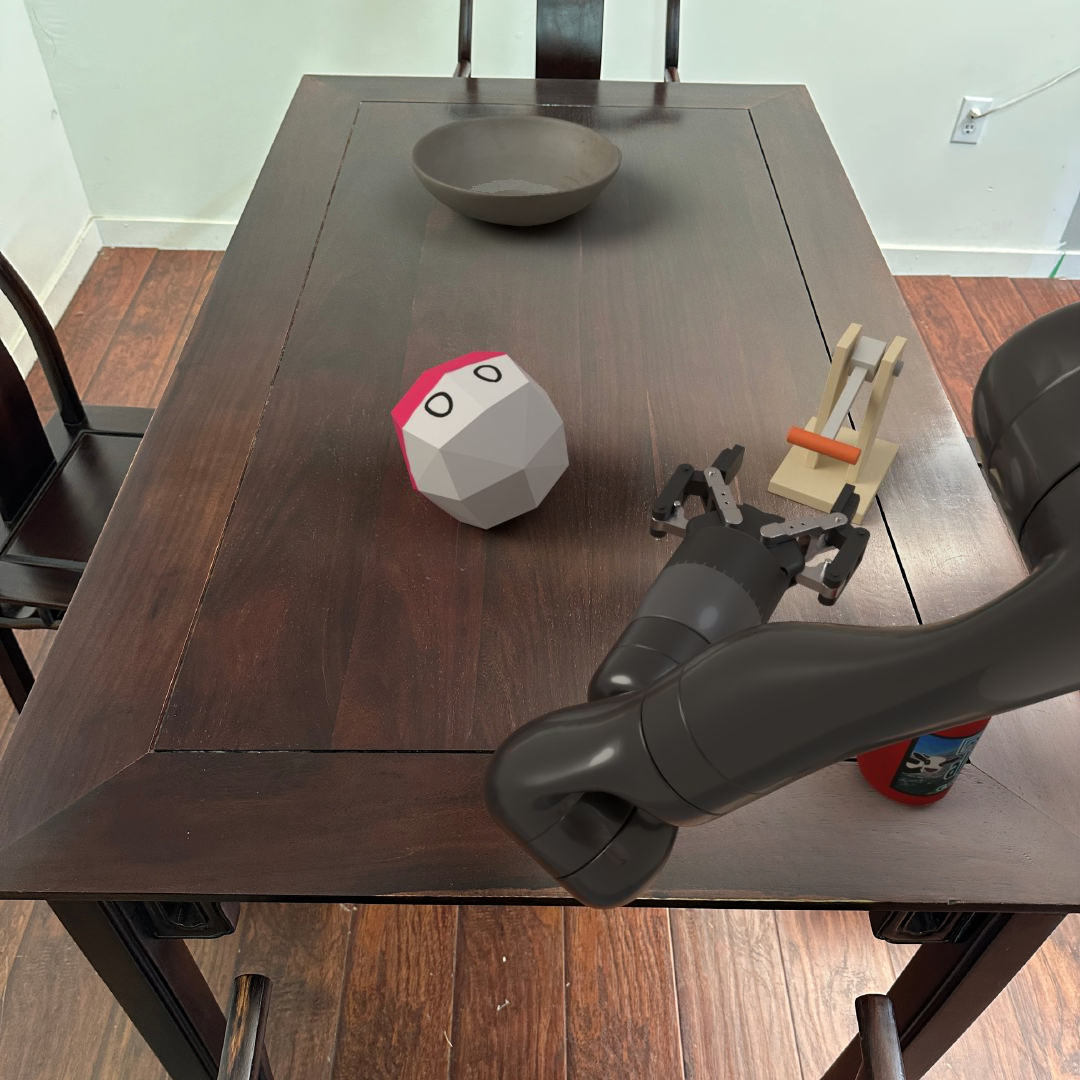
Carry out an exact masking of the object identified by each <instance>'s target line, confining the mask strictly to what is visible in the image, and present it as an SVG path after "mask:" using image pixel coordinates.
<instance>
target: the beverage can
mask: <svg viewBox="0 0 1080 1080" xmlns="http://www.w3.org/2000/svg"><path fill="white" fill-rule="evenodd" d="M992 717H993V716H992ZM992 717H988V718H985V719H981V720H978V721H974V722H971V723H967V724H963V725H960V726H956V727H953V728H949V729H945V730H942V731H938V732H934V733H931V734H927V735H924V736H920V737H917V738H913V739H909V740H906V741H902V742H899V743H895V744H892V745H888V746H885V747H882V748H879V749H876V750H873V751H870V752H866V753H863V754H860V755H858V756H856V762H857V766H858V768H859V771H860V774H861V775H862V777H863V778H864V780H865V781H866V782H867V783H868V784H869V785H870V786H871V787H872V789H873V790H875V792H877V793H879V794H880V795H882V796H883V797H885V798H886V799H888V800H891V801H892V802H895V803H898V804H902V805H905V806H910V807H911V806H912V807H922V806H928V805H931V804H934V803H937V802H939V801H941V799H943V798H945V796H946V795H947V794H948V793H949V791H950V790H951V788H952V786H953V785H954V783H955V782H956V780H957V779H958V776H959V775H960V773H961V771H962V770H963V768H964V767H965V765H966V763H967V762H968V760H969V758H970V757H971V754H972V753H973V752H974V749H975V747H976V746H977V744H978V742H979V741H980V740H981V737H982V735H983V734H984V732H985V730H986V729H987V727H988V725H989V723H990V721H991V719H992Z"/></svg>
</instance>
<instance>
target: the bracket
mask: <svg viewBox="0 0 1080 1080" xmlns="http://www.w3.org/2000/svg"><path fill="white" fill-rule="evenodd" d="M862 330H863V325H862V324H859V323H855V322H851V323H850V325H848V327H847V328H846V331H845V332H844V334H843V335H842V336H841V338H840V339H839V341H836V342H835V343H834V346H833V348H832V351H831V354H830V357H831V358H832V359H831V364H830V368H829V371H828V376H827V379H826V382H825V386H824V391H823V393H822V398H821V400H820V405H819V409H818V413H817V416H812V417H811V418H810V419H809V421H808V422H807V424H806V426H805V427H804V428H803V430H806V431H809V432H812V433H815V434H818V435H821V433H822V431H823V429H824V427H825V425H826V423H827V421H828V419H829V417H830V415H831V413H832V412H833V410H834V408H835V406H836V404H837V402H838V400H839V398H840V396H841V394H842V392H843V390H844V388H845V386H846V384H847V382H848V380H849V376H848V371H849V366H850V360H851V357H852V355H853V353H854V351H855V349H856V347H857V345H858V343H859V341H860V337H861V334H862ZM907 342H908V338H907V337H903V336H900V335H896V336H895V337H894V338H893V341H892V342H891V344H890V345H889V347H888V349H887V350H886V351H885V354H884V357H883V359H882V361H881V364H880V367H879V369H878V371H877V373H876V376H875V377H876V378H875V380H874V384H873V387H872V391H871V394H870V397H869V399H868V400H869V401H868V404H867V406H866V410H865V412H864V417H863V420H862V423H861V426H860V430H859V431H858V430H855V429H852V428H849V427H846V426H843V425H842V427H841V429H840V431H839V433H838V435H837V437H836V439H835V440H836V441H839V442H842V443H845V444H848V445H851V446H853V447H856V448H859V449H861V454H860V457H859V459H858V462H857V464H856V465H852V464H849V463H846V462H843V461H840V460H837V459H834V458H832V457H829V456H826V455H823V454H820V453H817V452H814V451H811V450H808V449H805V448H803V447H800V446H797V445H794V444H792V447H791V449H790V450H789V452H788V453H787V454H786V456H785V457H784V459H783V461H782V462H781V463H780V465H779V467H778V468H777V469H776V471H775V473H774V474H773V476H772V477H771V479H770V480H769V483H768V488H767V492H769V493H772V494H775V495H777V496H780V497H782V498H785V499H787V500H791V501H793V502H796V503H799V504H802V505H805V506H808V507H810V508H813V509H815V510H818V511H820V512H823V513H826V514H830V511H831V508H832V507H833V505H834V503H835V501H836V500H837V498H838V496H839V494H840V493H841V491H842V489H843V487H844V486H845V484H846V483H848V484H851V485H854V486H856V487H855V491H854V493H856V494H859V495H860V502H859V505H858V508H857V511H856V514H855V516H854V518H853V520H852V522H851V523H853V524H856V525H859V526H860V525H861V524H862V522H863V521H864V518H865V516H866V515H867V513H868V511H869V509H870V507H871V505H872V503H873V501H874V499H875V498H876V496H877V494H878V492H879V490H880V488H881V486H882V484H883V482H884V481H885V479H886V476H887V475H888V473H889V471H890V469H891V467H892V465H893V463H894V461H895V459H896V458H897V456H898V453H899V450H900V446H901V445H900V444H898V443H894V442H891V441H888V440H885V439H883V438H879V437H877V435H878V432H879V429H880V425H881V422H882V419H883V416H884V414H885V410H886V407H887V405H888V402H889V399H890V395H891V392H892V388H893V386H894V383H895V379H896V378H899V377H900V376H901V373H902V370H903V368H904V364H905V362H904V360H902V358H903V355H904V352H905V348H906V346H907Z"/></svg>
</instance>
